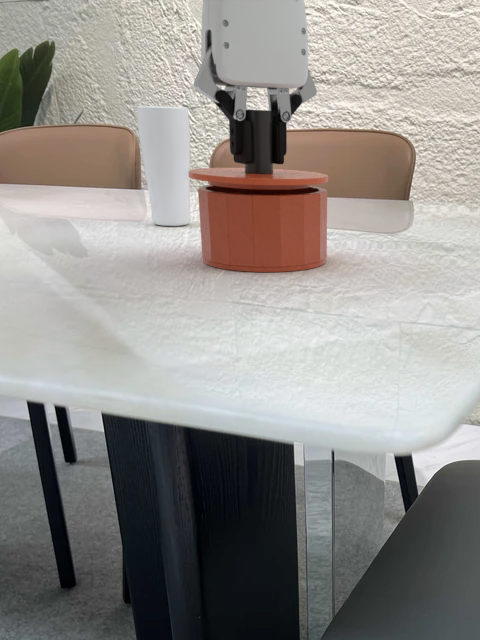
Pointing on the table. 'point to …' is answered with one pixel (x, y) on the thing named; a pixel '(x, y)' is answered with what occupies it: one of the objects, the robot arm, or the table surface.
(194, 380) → the table surface
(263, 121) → the lid
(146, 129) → the drinking glass
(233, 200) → the pot
